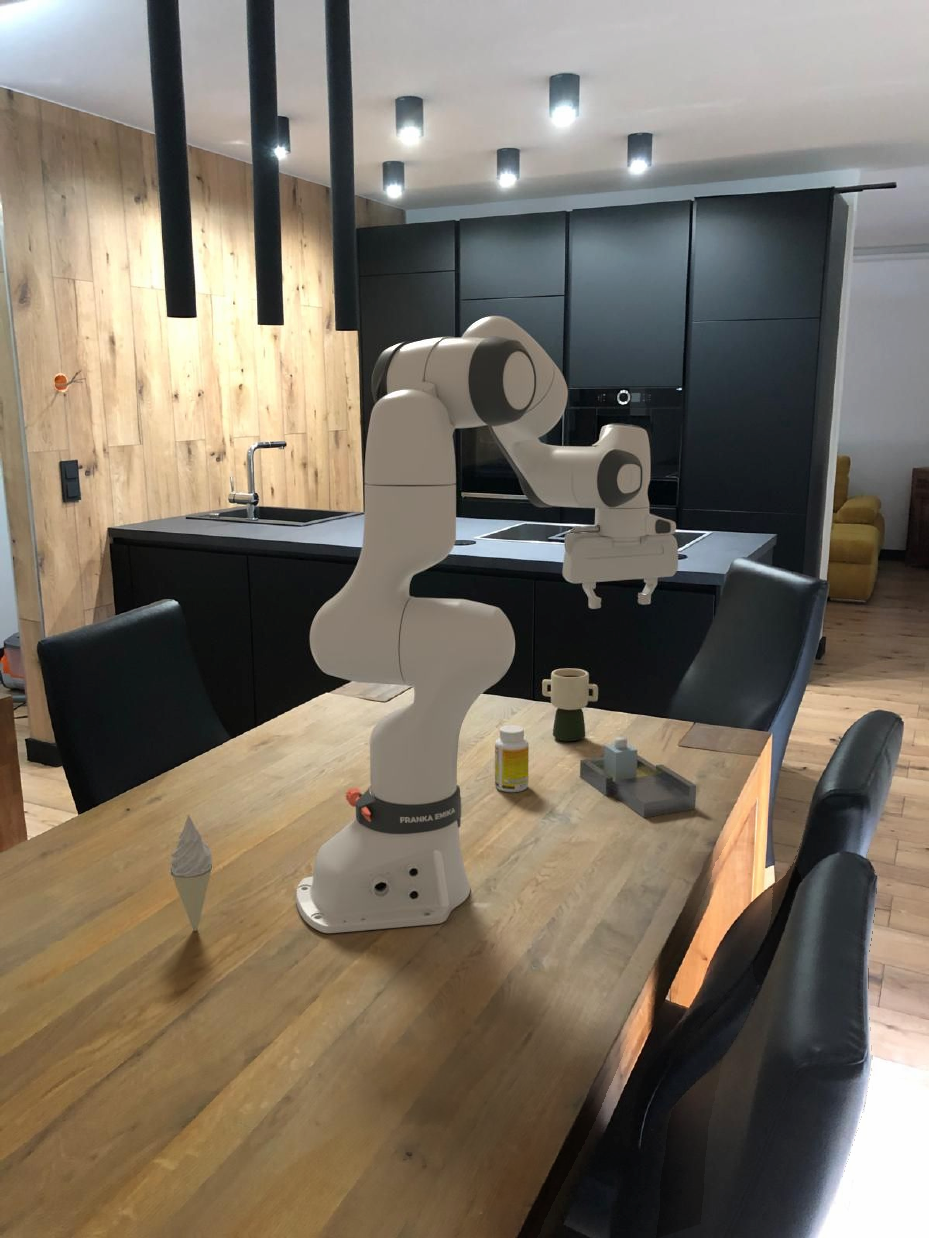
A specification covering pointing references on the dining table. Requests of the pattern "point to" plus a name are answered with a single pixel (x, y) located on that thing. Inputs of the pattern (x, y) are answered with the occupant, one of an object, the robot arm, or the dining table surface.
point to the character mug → (569, 701)
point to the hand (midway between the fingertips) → (619, 605)
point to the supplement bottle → (511, 759)
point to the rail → (643, 787)
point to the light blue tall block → (620, 760)
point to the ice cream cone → (191, 871)
